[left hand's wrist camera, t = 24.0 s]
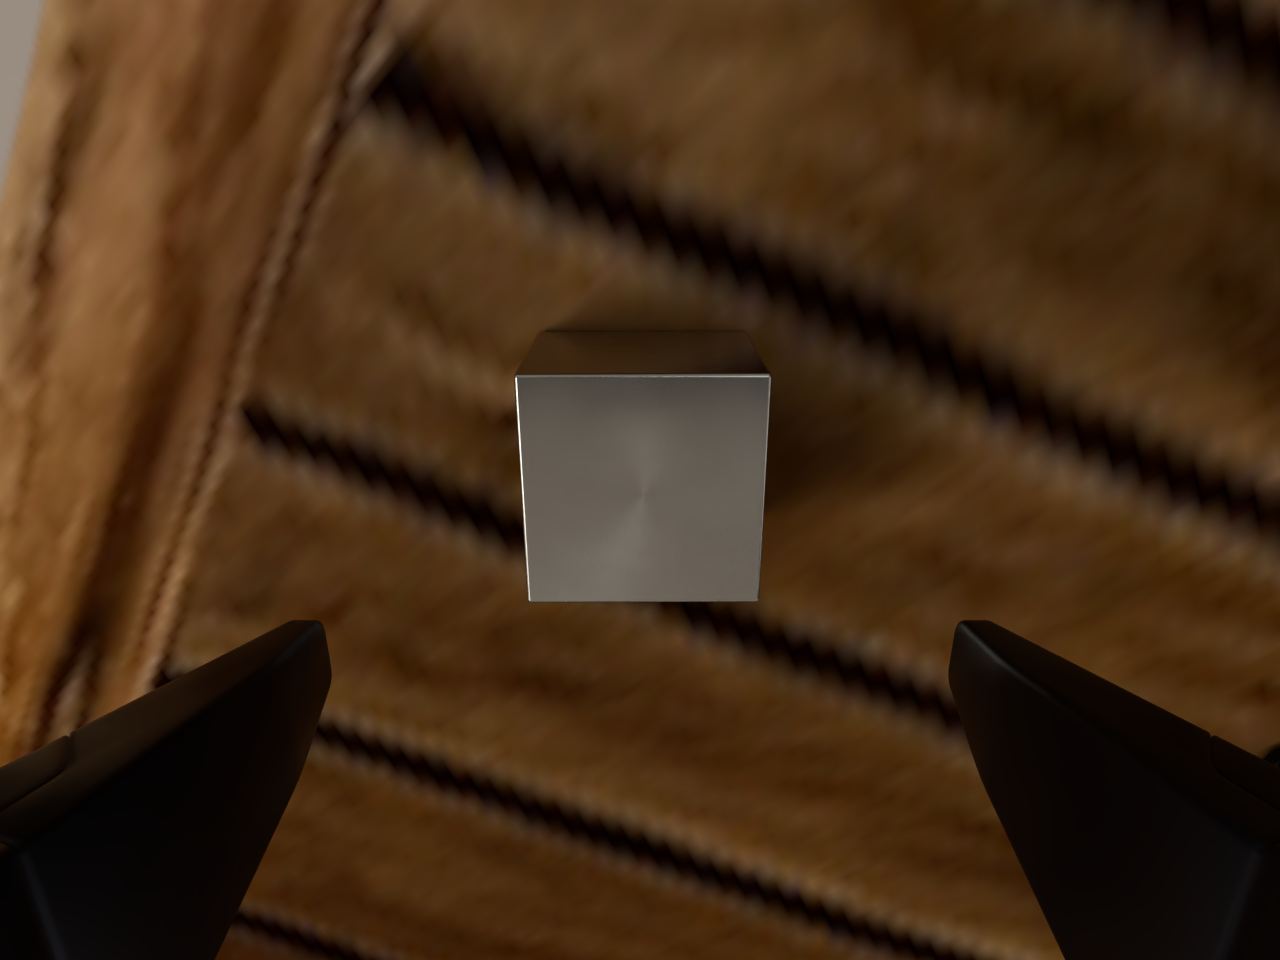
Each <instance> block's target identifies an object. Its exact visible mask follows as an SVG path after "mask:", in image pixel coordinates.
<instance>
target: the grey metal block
mask: <svg viewBox="0 0 1280 960" xmlns="http://www.w3.org/2000/svg"><path fill="white" fill-rule="evenodd" d="M771 378H772V376H771V374H770V372H769V370H768V368H767V367H766V365H765V363H764V362H763V360H762V358H761V357H760V355H759V353H758V352H757V350H756V348H755V347H754V345H753V343H752V341H751V340H750V338H749V336H748V335H747V333H746V332H745V331H570V332H539V333H538V335H537V337H536V338H535V340H534V342H533V344H532V345H531V347H530V349H529V351H528V353H527V354H526V356H525V358H524V360H523V361H522V363H521V365H520V367H519V369H518V370H517V372H516V374H515V376H514V384H515V400H516V417H517V433H518V449H519V465H520V481H521V497H522V514H523V530H524V546H525V562H526V578H527V594H528V601H529V602H756V601H758V600H759V591H760V573H761V555H762V537H763V520H764V502H765V484H766V467H767V449H768V431H769V414H770V396H771Z"/></svg>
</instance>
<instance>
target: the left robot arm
mask: <svg viewBox="0 0 1280 960" xmlns="http://www.w3.org/2000/svg"><path fill="white" fill-rule="evenodd" d="M331 676H332V674H331V664H330V658H329V652H328V646H327V640H326V634H325V629H324V627H323V625H322V623H321V622H319V621H317V620H293V621H289V622H287V623H285V624H283V625H281V626H279V627H277V628H275V629H273V630H271V631H269V632H267V633H265V634H263V635H261V636H260V637H258V638H256V639H254V640H252V641H250V642H248V643H246V644H244V645H242V646H240V647H238V648H236V649H234V650H232V651H230V652H228V653H226V654H224V655H222V656H220V657H218V658H216V659H214V660H212V661H210V662H208V663H206V664H205V665H203V666H201V667H199V668H197V669H195V670H193V671H191V672H189V673H187V674H185V675H183V676H181V677H179V678H177V679H175V680H173V681H171V682H169V683H167V684H165V685H163V686H161V687H159V688H157V689H155V690H153V691H151V692H149V693H148V694H146V695H144V696H142V697H140V698H138V699H136V700H134V701H132V702H130V703H128V704H126V705H124V706H122V707H120V708H118V709H116V710H114V711H112V712H110V713H108V714H106V715H104V716H102V717H100V718H98V719H96V720H94V721H92V722H91V723H89V724H87V725H85V726H83V727H81V728H79V729H77V730H75V731H73V732H71V733H70V736H69V737H68V736H63V737H61V738H59V739H57V740H55V741H53V742H51V743H49V744H47V745H45V746H43V747H41V748H39V749H37V750H35V751H33V752H31V753H29V754H27V755H25V756H23V757H21V758H19V759H17V760H15V761H13V762H11V763H9V764H7V765H5V766H3V767H1V768H0V960H215V958H216V956H217V954H218V952H219V949H220V947H221V945H222V943H223V941H224V939H225V937H226V934H227V932H228V930H229V928H230V926H231V924H232V922H233V920H234V917H235V915H236V913H237V911H238V909H239V907H240V905H241V902H242V900H243V898H244V896H245V894H246V892H247V890H248V888H249V885H250V883H251V881H252V879H253V877H254V875H255V873H256V870H257V868H258V866H259V864H260V862H261V860H262V858H263V856H264V853H265V851H266V849H267V847H268V845H269V843H270V841H271V838H272V836H273V834H274V832H275V830H276V828H277V826H278V824H279V821H280V819H281V817H282V815H283V813H284V811H285V809H286V806H287V804H288V802H289V800H290V798H291V796H292V794H293V791H294V789H295V787H296V784H297V782H298V780H299V778H300V775H301V772H302V769H303V767H304V764H305V761H306V758H307V755H308V752H309V749H310V746H311V743H312V740H313V737H314V734H315V731H316V728H317V725H318V722H319V719H320V716H321V713H322V710H323V707H324V703H325V700H326V697H327V694H328V691H329V688H330V684H331ZM948 676H949V684H950V688H951V691H952V694H953V697H954V700H955V703H956V707H957V710H958V713H959V716H960V719H961V722H962V725H963V728H964V731H965V734H966V737H967V740H968V743H969V746H970V749H971V752H972V755H973V758H974V761H975V764H976V767H977V769H978V772H979V775H980V777H981V780H982V782H983V784H984V787H985V789H986V791H987V794H988V796H989V798H990V800H991V802H992V804H993V806H994V809H995V811H996V813H997V815H998V817H999V819H1000V821H1001V824H1002V826H1003V828H1004V830H1005V832H1006V834H1007V836H1008V838H1009V841H1010V843H1011V845H1012V847H1013V849H1014V851H1015V853H1016V856H1017V858H1018V860H1019V862H1020V864H1021V866H1022V868H1023V870H1024V873H1025V875H1026V877H1027V879H1028V881H1029V883H1030V885H1031V888H1032V890H1033V892H1034V894H1035V896H1036V898H1037V900H1038V902H1039V905H1040V907H1041V909H1042V911H1043V913H1044V915H1045V917H1046V920H1047V922H1048V924H1049V926H1050V928H1051V930H1052V932H1053V934H1054V937H1055V939H1056V941H1057V943H1058V945H1059V947H1060V949H1061V952H1062V954H1063V956H1064V958H1065V960H1280V748H1279V749H1276V750H1274V751H1272V752H1271V753H1270V754H1268V755H1267V756H1266V757H1265V758H1264V759H1261V758H1259V757H1257V756H1255V755H1253V754H1251V753H1249V752H1247V751H1245V750H1243V749H1241V748H1239V747H1237V746H1235V745H1233V744H1231V743H1229V742H1227V741H1225V740H1223V739H1221V738H1219V737H1217V736H1212V737H1211V736H1210V733H1209V732H1207V731H1205V730H1203V729H1201V728H1199V727H1197V726H1195V725H1193V724H1191V723H1190V722H1188V721H1186V720H1184V719H1182V718H1180V717H1178V716H1176V715H1174V714H1172V713H1170V712H1168V711H1166V710H1164V709H1162V708H1160V707H1158V706H1156V705H1154V704H1152V703H1150V702H1148V701H1146V700H1144V699H1142V698H1140V697H1138V696H1136V695H1134V694H1132V693H1131V692H1129V691H1127V690H1125V689H1123V688H1121V687H1119V686H1117V685H1115V684H1113V683H1111V682H1109V681H1107V680H1105V679H1103V678H1101V677H1099V676H1097V675H1095V674H1093V673H1091V672H1089V671H1087V670H1085V669H1083V668H1081V667H1079V666H1077V665H1076V664H1074V663H1072V662H1070V661H1068V660H1066V659H1064V658H1062V657H1060V656H1058V655H1056V654H1054V653H1052V652H1050V651H1048V650H1046V649H1044V648H1042V647H1040V646H1038V645H1036V644H1034V643H1032V642H1030V641H1028V640H1026V639H1024V638H1022V637H1020V636H1019V635H1017V634H1015V633H1013V632H1011V631H1009V630H1007V629H1005V628H1003V627H1001V626H999V625H997V624H995V623H993V622H991V621H987V620H963V621H961V622H959V623H958V625H957V627H956V629H955V634H954V640H953V646H952V652H951V658H950V664H949V674H948Z"/></svg>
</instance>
